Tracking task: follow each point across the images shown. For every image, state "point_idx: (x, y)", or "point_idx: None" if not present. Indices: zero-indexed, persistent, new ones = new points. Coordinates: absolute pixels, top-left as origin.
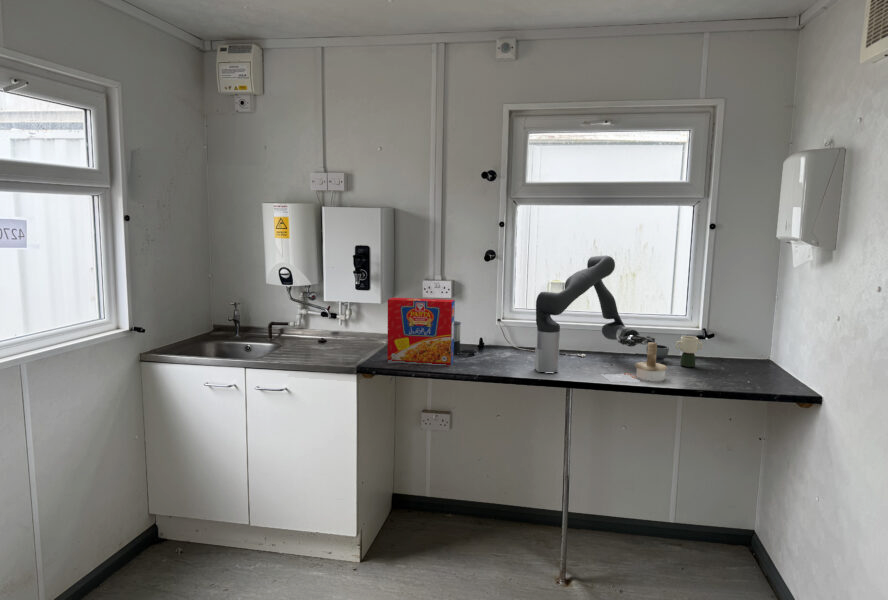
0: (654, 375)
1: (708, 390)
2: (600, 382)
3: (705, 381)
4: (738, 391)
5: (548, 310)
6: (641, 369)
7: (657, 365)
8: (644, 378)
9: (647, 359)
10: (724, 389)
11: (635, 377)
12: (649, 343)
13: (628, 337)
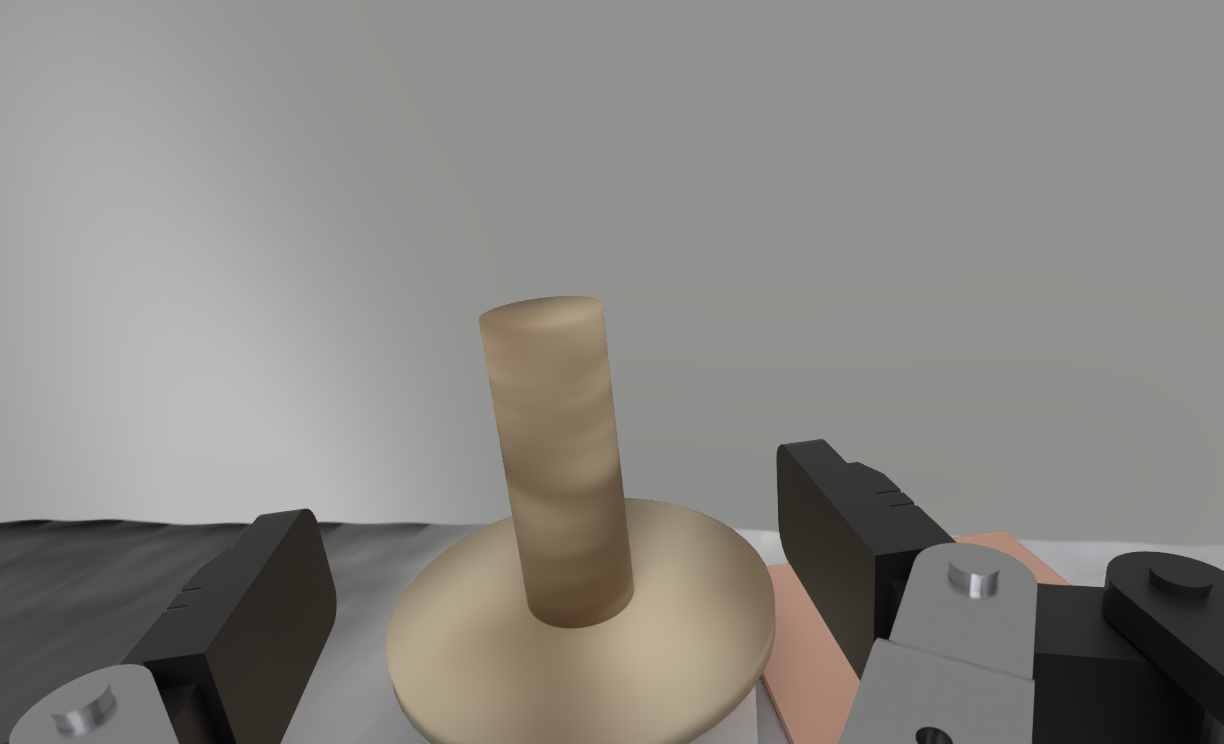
0: None
1: (322, 523)
2: (1106, 546)
3: None
4: (145, 535)
5: None
6: None
7: (496, 606)
8: None
9: (625, 514)
10: (188, 552)
11: (775, 687)
12: (595, 300)
13: (1007, 671)
